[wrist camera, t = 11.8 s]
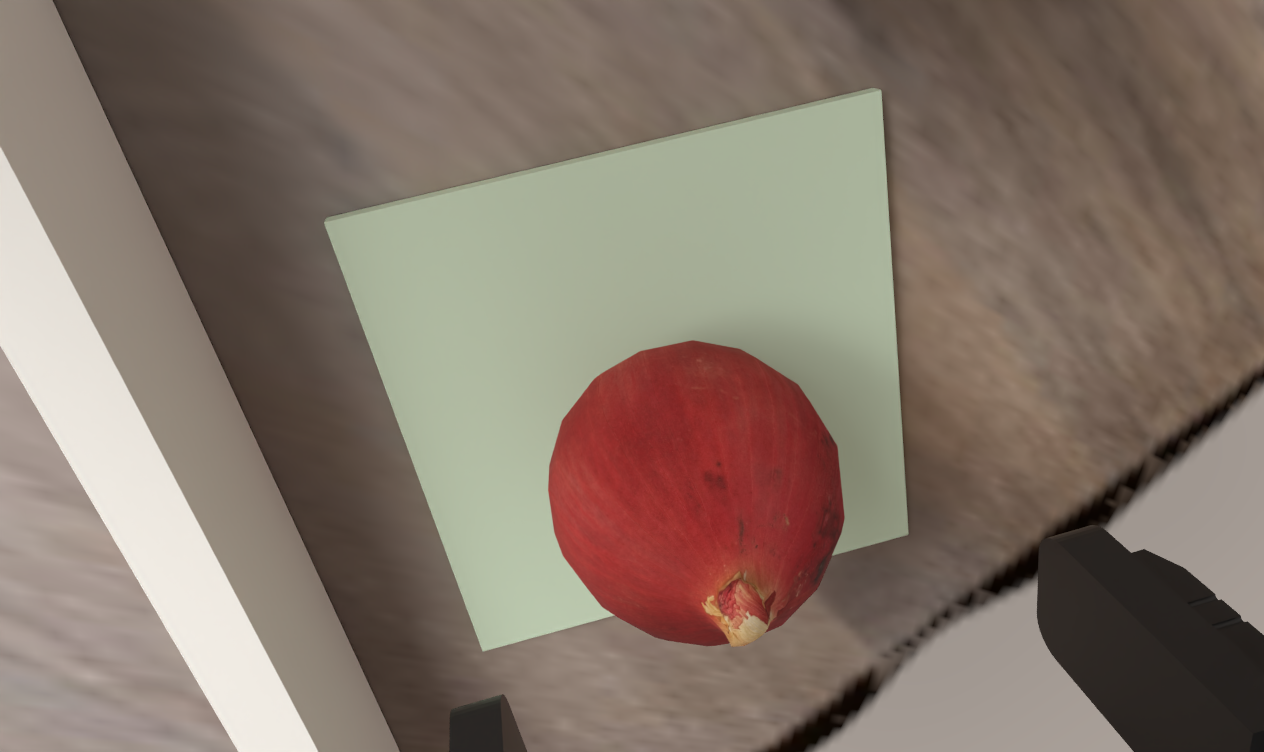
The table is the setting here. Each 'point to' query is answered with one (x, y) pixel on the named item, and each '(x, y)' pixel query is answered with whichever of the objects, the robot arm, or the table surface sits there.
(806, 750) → the table surface
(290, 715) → the low wall
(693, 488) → the onion
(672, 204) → the mat
